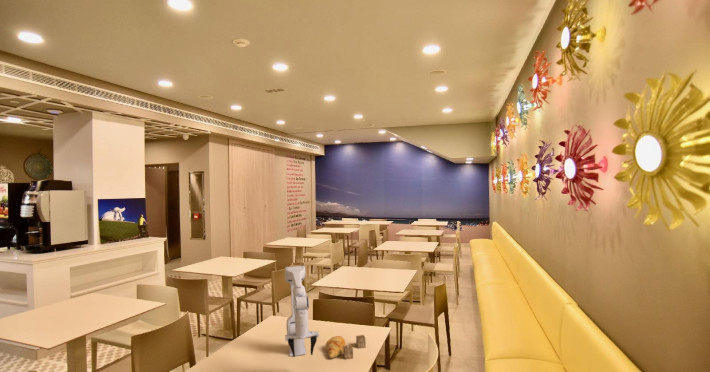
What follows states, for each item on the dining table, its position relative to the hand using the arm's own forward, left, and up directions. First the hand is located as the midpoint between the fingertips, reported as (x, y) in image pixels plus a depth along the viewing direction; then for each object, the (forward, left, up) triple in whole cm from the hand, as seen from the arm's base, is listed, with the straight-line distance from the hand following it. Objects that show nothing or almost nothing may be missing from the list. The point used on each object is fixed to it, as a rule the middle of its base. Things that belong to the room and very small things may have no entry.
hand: (302, 355), depth 160 cm
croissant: (-23, +17, -10) cm, 30 cm away
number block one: (-14, +22, -10) cm, 28 cm away
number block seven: (-24, +31, -10) cm, 40 cm away
